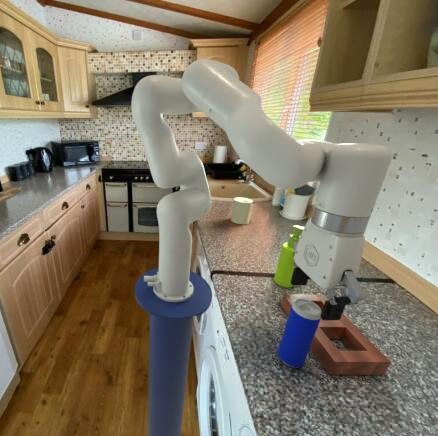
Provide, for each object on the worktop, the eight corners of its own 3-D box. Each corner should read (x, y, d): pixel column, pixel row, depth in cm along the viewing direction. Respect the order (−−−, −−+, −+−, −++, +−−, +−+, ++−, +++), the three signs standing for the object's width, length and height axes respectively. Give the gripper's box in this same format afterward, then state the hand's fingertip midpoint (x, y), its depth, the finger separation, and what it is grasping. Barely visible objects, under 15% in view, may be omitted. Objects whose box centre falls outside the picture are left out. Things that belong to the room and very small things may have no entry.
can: (236, 225, 121) (240, 202, 116) (227, 218, 129) (230, 196, 125) (252, 223, 123) (257, 201, 118) (242, 216, 131) (245, 195, 127)
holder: (329, 374, 51) (335, 361, 49) (280, 305, 70) (283, 294, 68) (383, 375, 51) (391, 362, 49) (320, 305, 70) (324, 294, 68)
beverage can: (292, 346, 57) (309, 296, 51) (309, 367, 52) (329, 314, 47) (272, 350, 56) (287, 299, 50) (287, 371, 52) (306, 317, 46)
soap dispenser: (288, 291, 75) (305, 234, 67) (269, 278, 81) (283, 224, 73) (300, 286, 77) (318, 230, 70) (282, 274, 83) (296, 221, 75)
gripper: (288, 203, 49) (272, 274, 56) (356, 244, 33) (322, 336, 40) (325, 203, 49) (305, 274, 56) (411, 244, 33) (368, 336, 40)
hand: (312, 300), depth 48 cm, fingers open, 9 cm apart
